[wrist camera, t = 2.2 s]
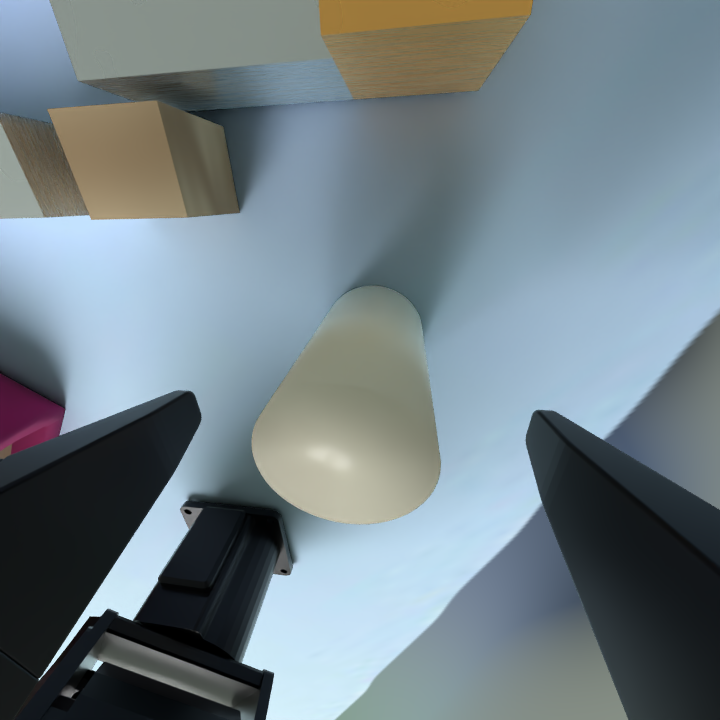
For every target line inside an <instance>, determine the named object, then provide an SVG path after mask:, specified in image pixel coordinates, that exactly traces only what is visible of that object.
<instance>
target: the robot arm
mask: <svg viewBox="0 0 720 720" xmlns="http://www.w3.org/2000/svg"><path fill="white" fill-rule="evenodd" d="M200 423H201V412H200V409H199V406H198V403H197V400H196V397H195V395H194V393H193V392H191V391H181V390H178V391H174V392H171V393H169V394H166V395H164V396H161V397H158V398H156V399H153V400H151V401H148V402H146V403H143V404H140V405H138V406H135V407H133V408H130V409H127V410H125V411H122V412H120V413H117V414H115V415H112V416H109V417H107V418H104V419H102V420H99V421H97V422H94V423H91V424H89V425H86V426H84V427H81V428H79V429H76V430H73V431H71V432H68V433H66V434H63V435H61V436H58V437H55V438H53V439H50V440H48V441H45V442H43V443H40V444H37V445H35V446H32V447H30V448H27V449H25V450H22V451H19V452H17V453H14V454H12V455H9V456H7V457H6V458H4V459H0V720H266V715H267V710H268V705H269V699H270V694H271V689H272V684H273V678H274V673H273V672H270V671H267V670H265V669H264V670H263V671H260V670H258V669H255V668H253V667H250V666H248V665H245V664H242V661H243V658H244V655H245V652H246V649H247V646H248V644H249V641H250V638H251V635H252V632H253V629H254V626H255V624H256V621H257V618H258V615H259V612H260V609H261V607H262V604H263V601H264V598H265V595H266V592H267V589H268V587H269V584H270V581H271V578H272V575H273V574H278V575H290V574H291V571H292V568H293V565H292V561H291V556H290V552H289V548H288V543H287V539H286V535H285V530H284V526H283V522H282V517H281V514H280V513H279V512H277V511H275V510H270V509H260V508H251V507H241V506H232V505H222V504H212V503H203V502H193V501H186V502H185V503H184V504H183V506H182V507H181V509H180V510H181V513H182V515H183V517H184V519H185V522H186V524H187V526H188V528H189V531H188V532H187V534H186V535H185V537H184V538H183V540H182V541H181V543H180V544H179V546H178V547H177V549H176V551H175V552H174V554H173V555H172V557H171V558H170V560H169V561H168V563H167V564H166V566H165V567H164V569H163V570H162V572H161V574H160V575H159V577H158V582H157V583H156V585H155V587H154V588H153V590H152V591H151V593H150V594H149V596H148V597H147V599H146V601H145V602H144V604H143V605H142V607H141V608H140V610H139V611H138V613H137V615H136V616H135V618H134V619H133V621H131V620H129V619H126V618H124V617H121V616H118V614H119V613H118V612H116V611H113V610H110V609H107V610H106V611H105V612H104V614H103V615H102V616H101V617H89V618H88V620H87V621H86V622H85V624H84V625H83V626H82V628H81V629H80V630H79V632H78V633H77V634H76V636H75V637H74V638H73V640H72V641H71V642H70V644H69V645H68V646H67V648H66V649H65V650H64V651H63V653H62V654H61V655H60V657H59V658H58V659H57V660H56V662H55V663H54V664H53V665H52V666H51V668H50V669H49V670H48V671H47V672H46V673H45V675H44V676H43V677H42V678H41V679H40V680H39V679H38V678H40V677H41V676H42V675H43V673H44V671H45V670H46V668H47V667H48V665H49V664H50V662H51V661H52V659H53V658H54V656H55V655H56V653H57V652H58V650H59V648H60V647H61V645H62V644H63V642H64V641H65V639H66V638H67V636H68V635H69V633H70V632H71V630H72V629H73V627H74V625H75V624H76V622H77V621H78V619H79V618H80V616H81V615H82V613H83V612H84V610H85V609H86V607H87V606H88V604H89V602H90V601H91V599H92V598H93V596H94V595H95V593H96V592H97V590H98V589H99V587H100V586H101V584H102V583H103V581H104V579H105V578H106V576H107V575H108V573H109V572H110V570H111V569H112V567H113V566H114V564H115V563H116V561H117V560H118V558H119V556H120V555H121V553H122V552H123V550H124V549H125V547H126V546H127V544H128V543H129V541H130V540H131V538H132V537H133V535H134V533H135V532H136V530H137V529H138V527H139V526H140V524H141V523H142V521H143V520H144V518H145V517H146V515H147V514H148V512H149V510H150V509H151V507H152V506H153V504H154V503H155V501H156V500H157V498H158V497H159V495H160V494H161V492H162V491H163V489H164V487H165V486H166V484H167V483H168V481H169V480H170V478H171V477H172V475H173V473H174V472H175V470H176V468H177V467H178V465H179V463H180V461H181V459H182V457H183V455H184V453H185V451H186V450H187V448H188V446H189V444H190V442H191V440H192V438H193V436H194V434H195V432H196V431H197V429H198V427H199V425H200ZM526 446H527V450H528V454H529V457H530V461H531V465H532V468H533V472H534V476H535V479H536V483H537V486H538V490H539V494H540V497H541V500H542V504H543V506H544V509H545V512H546V514H547V517H548V519H549V522H550V524H551V527H552V529H553V532H554V534H555V537H556V539H557V542H558V544H559V547H560V549H561V552H562V554H563V557H564V560H565V562H566V565H567V567H568V570H569V572H570V575H571V577H572V580H573V582H574V585H575V587H576V590H577V592H578V595H579V597H580V599H581V602H582V605H583V607H584V610H585V612H586V615H587V617H588V620H589V622H590V625H591V627H592V630H593V632H594V634H595V637H596V640H597V642H598V645H599V647H600V650H601V652H602V655H603V657H604V660H605V662H606V664H607V667H608V670H609V672H610V674H611V677H612V680H613V682H614V685H615V687H616V690H617V692H618V695H619V697H620V700H621V702H622V705H623V707H624V710H625V712H626V715H627V717H628V720H720V510H719V509H717V508H716V507H714V506H712V505H711V504H709V503H707V502H705V501H704V500H702V499H701V498H699V497H697V496H696V495H694V494H692V493H691V492H689V491H687V490H686V489H684V488H682V487H681V486H679V485H677V484H676V483H674V482H672V481H671V480H669V479H667V478H666V477H664V476H662V475H660V474H659V473H657V472H656V471H654V470H652V469H650V468H649V467H647V466H645V465H643V464H642V463H640V462H639V461H637V460H635V459H634V458H632V457H630V456H629V455H627V454H625V453H624V452H622V451H620V450H619V449H617V448H615V447H614V446H612V445H610V444H609V443H607V442H605V441H604V440H602V439H600V438H599V437H597V436H595V435H594V434H592V433H590V432H589V431H587V430H585V429H584V428H582V427H580V426H579V425H577V424H575V423H574V422H572V421H570V420H569V419H567V418H565V417H564V416H562V415H560V414H559V413H557V412H555V411H550V410H536V411H534V413H533V415H532V417H531V421H530V424H529V428H528V431H527V434H526ZM97 660H100V661H103V664H102V665H101V666H100V667H99V669H98V670H97V671H93V670H92V668H93V666H94V665H95V663H96V662H97Z"/></svg>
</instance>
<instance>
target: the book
mask: <svg viewBox="0 0 720 720" xmlns="http://www.w3.org/2000/svg"><path fill="white" fill-rule="evenodd" d="M64 413H65V409H64V408H63V407H61V406H59V405H57V404H55V403H54V402H52V401H50V400H48V399H46V398H44V397H43V396H41V395H39V394H37V393H35V392H33V391H32V390H30V389H28V388H26V387H24V386H22V385H21V384H19V383H17V382H15V381H13V380H12V379H10V378H8V377H6V376H4V375H2V374H1V373H0V459H4V458H6V457H7V456H9V455H12V454H14V453H17V452H19V451H22V450H25V449H27V448H30V447H32V446H35V445H37V444H40V443H43V442H45V441H48V440H50V439H53V438H55V437H58V436H59V434H60V430H61V426H62V422H63V418H64Z"/></svg>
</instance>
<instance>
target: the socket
mask: <svg viewBox="0 0 720 720" xmlns="http://www.w3.org/2000/svg"><path fill="white" fill-rule="evenodd" d="M81 215H89V213H88V210H87V207H86V205H85V202H84V200H83V197H82V195H81V192H80V190H79V187H78V185H77V182H76V180H75V177H74V175H73V172H72V170H71V167H70V165H69V162H68V160H67V157H66V155H65V152H64V150H63V147H62V145H61V142H60V140H59V137H58V135H57V132H56V130H55V127H54V125H53V123H48V122H43V121H38V120H34V119H29V118H24V117H20V116H15V115H10V114H5V113H1V112H0V219H4V218H44V217H63V216H81Z"/></svg>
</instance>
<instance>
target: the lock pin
mask: <svg viewBox="0 0 720 720" xmlns="http://www.w3.org/2000/svg"><path fill="white" fill-rule="evenodd" d="M50 3H51V6H52V9H53V11H54V14H55V17H56V20H57V23H58V26H59V28H60V31H61V34H62V37H63V40H64V43H65V46H66V48H67V51H68V54H69V57H70V60H71V63H72V66H73V68H74V71H75V74H76V77H77V80H78V81H79V82H82V83H85V84H88V85H91V86H93V87H96V88H99V89H102V90H105V91H107V92H110V93H113V94H116V95H119V96H121V97H124V98H127V99H130V100H133V101H135V102H143V101H156V100H157V101H159V102H162V103H164V104H167V105H170V106H172V107H175V108H177V109H180V110H182V111H185V112H186V111H200V110H214V109H228V108H242V107H256V106H270V105H284V104H298V103H312V102H326V101H340V100H354V99H368V98H382V97H396V96H410V95H424V94H438V93H452V92H466V91H478V90H479V89H480V88H481V86H482V85H483V83H484V82H485V80H486V79H487V77H488V76H489V74H490V73H491V72H492V70H493V69H494V67H495V66H496V64H497V63H498V61H499V60H500V58H501V57H502V56H503V54H504V53H505V51H506V50H507V48H508V47H509V45H510V44H511V42H512V41H513V40H514V38H515V37H516V35H517V34H518V32H519V31H520V29H521V28H522V26H523V25H524V23H525V22H526V21H527V19H528V18H529V16H530V15H531V9H532V3H533V0H50Z"/></svg>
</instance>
